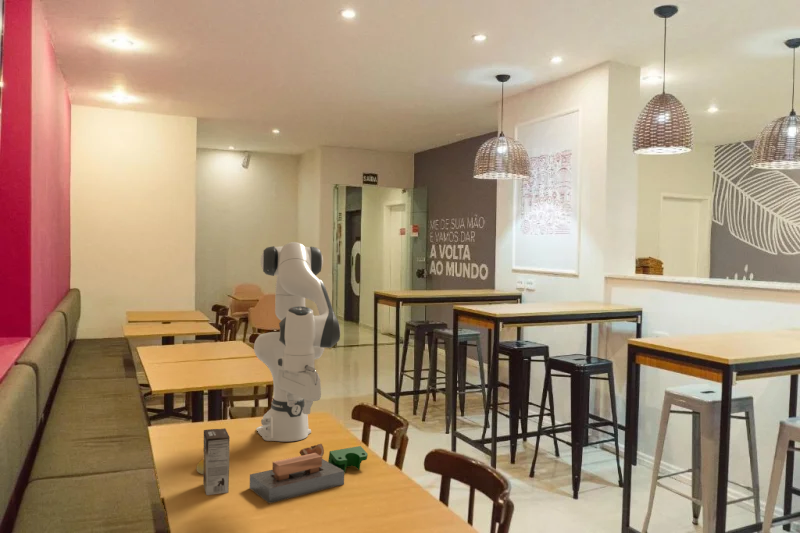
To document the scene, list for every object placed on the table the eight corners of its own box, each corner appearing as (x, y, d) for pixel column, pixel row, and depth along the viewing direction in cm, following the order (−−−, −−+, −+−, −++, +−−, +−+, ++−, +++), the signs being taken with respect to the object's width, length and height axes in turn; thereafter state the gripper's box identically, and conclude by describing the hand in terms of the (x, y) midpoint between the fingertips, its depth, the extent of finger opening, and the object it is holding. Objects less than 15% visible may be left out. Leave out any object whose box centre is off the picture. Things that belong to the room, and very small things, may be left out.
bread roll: (198, 467, 191) (198, 454, 191) (227, 465, 193) (227, 453, 193) (194, 476, 183) (194, 463, 183) (224, 475, 185) (224, 462, 185)
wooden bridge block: (272, 489, 174) (272, 461, 174) (314, 479, 182) (315, 452, 182) (278, 493, 171) (278, 465, 171) (321, 483, 179) (321, 456, 179)
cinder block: (249, 488, 174) (249, 474, 174) (321, 471, 189) (322, 458, 189) (269, 503, 164) (269, 488, 164) (344, 484, 179) (344, 470, 179)
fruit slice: (306, 466, 193) (307, 451, 193) (294, 461, 198) (294, 446, 198) (327, 460, 199) (327, 445, 199) (315, 455, 204) (315, 440, 204)
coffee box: (202, 484, 177) (203, 429, 176) (225, 481, 179) (225, 427, 179) (205, 495, 168) (206, 438, 168) (229, 492, 171) (230, 436, 171)
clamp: (339, 485, 189) (332, 464, 185) (331, 475, 194) (324, 453, 190) (372, 466, 194) (366, 445, 190) (363, 456, 199) (357, 435, 195)
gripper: (327, 367, 169) (326, 416, 170) (293, 356, 186) (292, 401, 186) (307, 370, 166) (306, 420, 166) (274, 358, 182) (273, 403, 182)
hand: (298, 410), depth 176 cm, fingers open, 8 cm apart
